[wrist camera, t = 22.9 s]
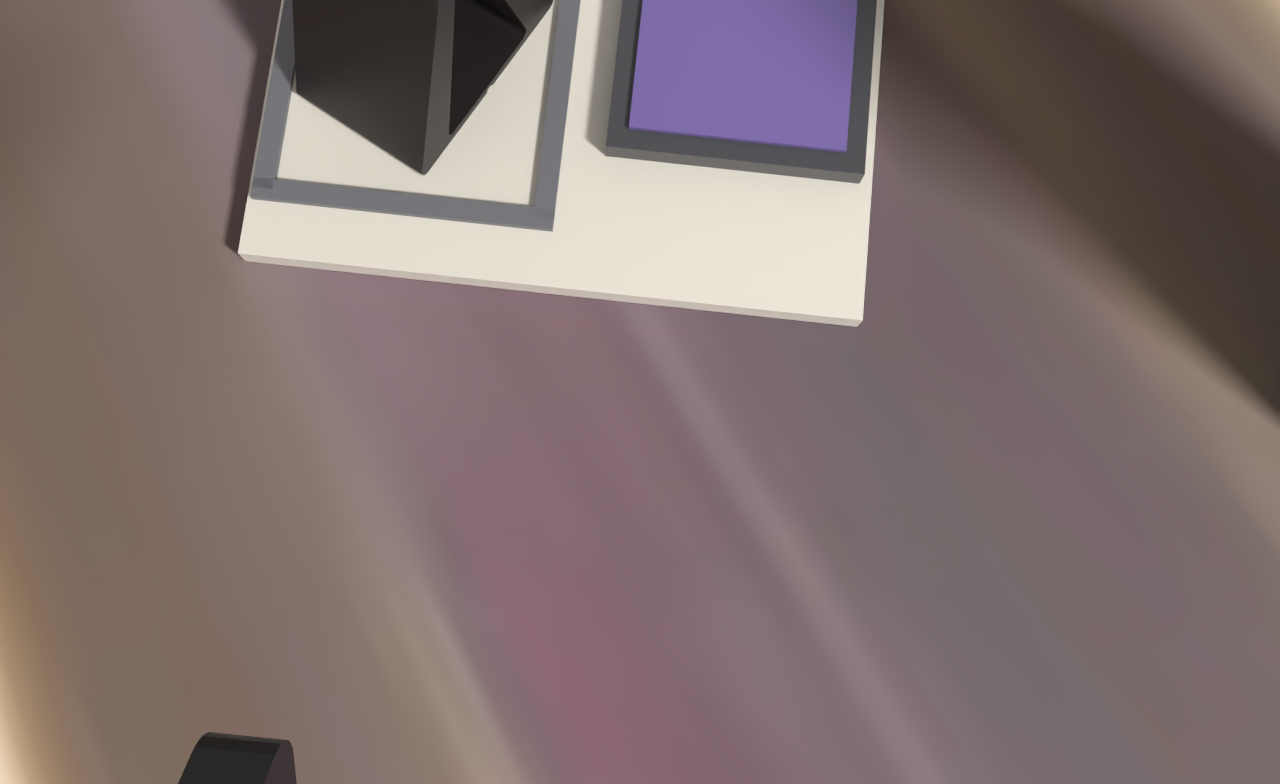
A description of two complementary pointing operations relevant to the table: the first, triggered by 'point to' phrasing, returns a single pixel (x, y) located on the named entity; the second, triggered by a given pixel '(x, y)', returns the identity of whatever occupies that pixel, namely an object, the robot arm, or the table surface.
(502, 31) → the phone stand
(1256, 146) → the table surface
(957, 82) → the table surface
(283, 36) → the marked box
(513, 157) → the white flat board
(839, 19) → the ink pad
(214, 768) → the robot arm
